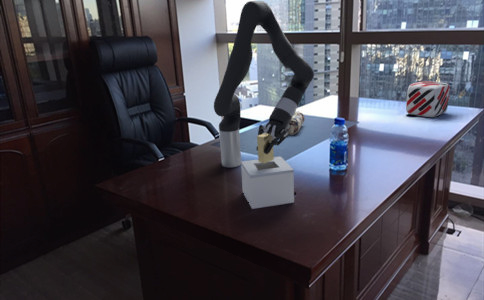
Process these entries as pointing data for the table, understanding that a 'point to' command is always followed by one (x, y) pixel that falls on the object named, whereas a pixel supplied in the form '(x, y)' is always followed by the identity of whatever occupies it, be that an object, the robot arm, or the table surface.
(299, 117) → the pencil case
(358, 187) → the table surface
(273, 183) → the box
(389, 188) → the table surface
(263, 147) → the tan rectangular block
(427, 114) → the decorative cube
